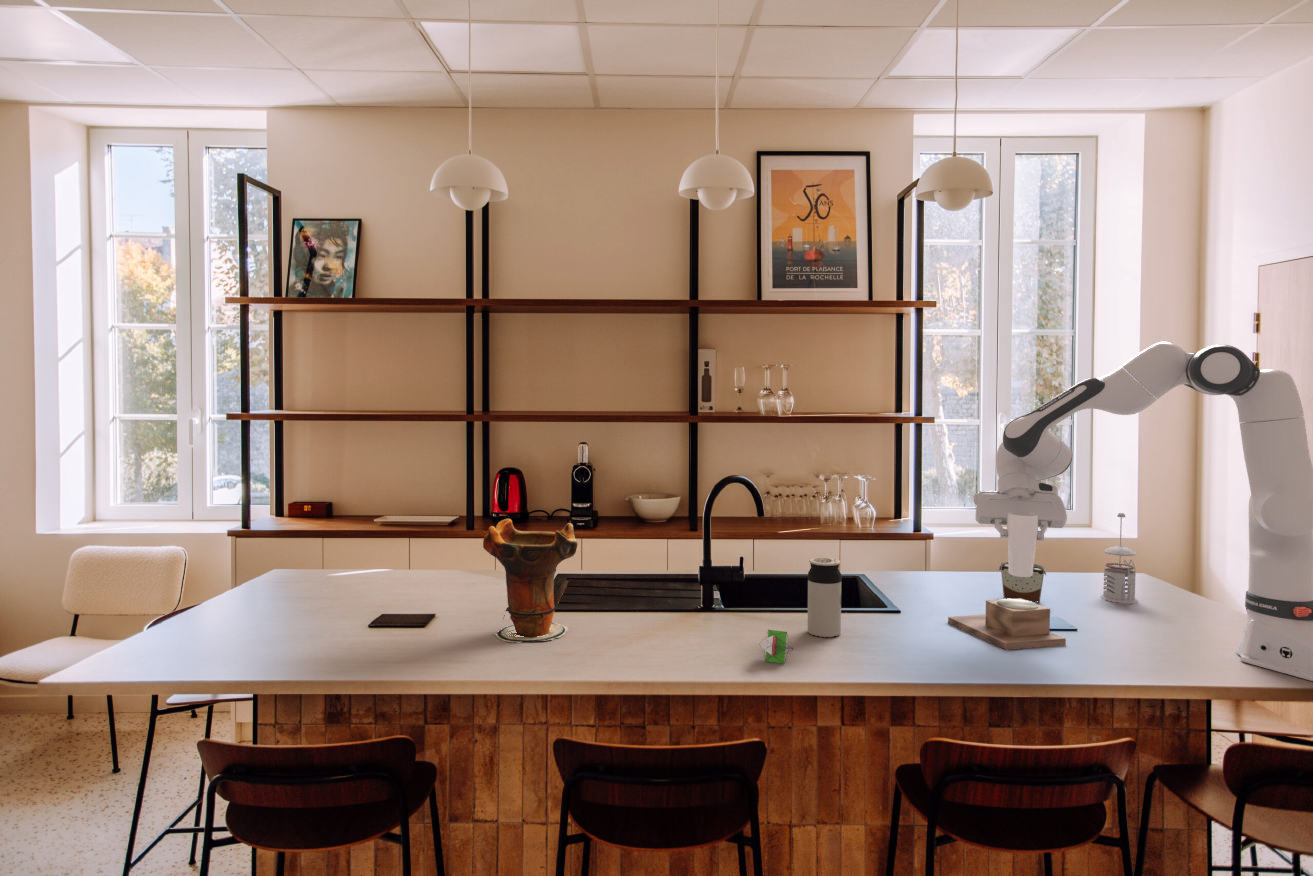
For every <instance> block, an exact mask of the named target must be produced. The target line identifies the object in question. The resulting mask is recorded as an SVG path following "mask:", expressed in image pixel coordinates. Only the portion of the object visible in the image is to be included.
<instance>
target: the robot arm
mask: <svg viewBox="0 0 1313 876" xmlns="http://www.w3.org/2000/svg"><path fill="white" fill-rule="evenodd" d="M1181 385H1182V386H1183V385H1184V386H1186V387H1188V388H1190V389H1192V390H1194V391H1197V392H1199V393H1202V394H1205V395H1209V396H1222V395H1226V396H1229V397H1230V398H1231V399H1232V400H1233V401H1234V403H1235V406H1236V409H1237V415H1238V421H1239V422H1238V423H1239V430H1240V436H1241V442H1242V443H1241V444H1242V450H1243V458H1244V462H1245V468H1246V473H1247V478H1248V483H1249V490H1250V496H1249V501H1248V548H1249V549H1248V550H1249V553H1248V555H1249V557H1248V560H1249V565H1248V589H1247V591H1245V598H1244V599H1245V600H1244V602H1245V603H1244V606H1245V609H1246V617H1245V621H1244V622H1245V623H1244V627H1243V628H1244V629H1243V633H1242V636H1241V640H1240V642H1239V645H1238V648H1237V650H1236V653H1237V654H1238V655H1239V656H1240V661H1241V662H1243V663H1245V664H1250V665H1254V666H1257V667H1261V668H1264V669H1268V670H1271V671H1274V672H1278V673H1282V674H1286V675H1290V676H1292V677H1297V678H1301V679H1303V680H1308V681H1311V682H1313V463H1312V460H1311V455H1310V450H1309V442H1308V434H1307V430H1306V429H1307V428H1306V421H1305V416H1304V410H1303V409H1304V408H1303V405H1302V401H1301V397H1300V394H1299V391H1298V388H1297V386H1296V383H1295V380H1294V379H1293V377H1292V376H1291V375H1290V374H1289V373H1287V372H1286V371H1283V370H1280V369H1273V368H1268V369H1267V368H1265V369H1260V368H1259V366H1257V364H1255V363H1254V362H1253V361H1252V360H1251V359H1250V358H1249V357H1248V356H1247V355H1246V353H1244V351H1242V350H1240V349H1239V348H1238V347H1235V346H1233V345H1230V344H1225V343H1224V344H1218V343H1217V344H1213V345H1209V346H1206V347H1204V348H1202V349H1200V350H1198V351H1196V352H1188V351H1186V350H1184V349H1183V348H1182V347H1181V346H1178V345H1177V344H1175V343H1173V342H1169V341H1159V342H1158V341H1157V342H1156V343H1153V344H1152V345H1150V346H1148V347H1147V348H1145V349H1143V350H1142V351H1140V352H1138V353H1136V354H1135V355H1134V356H1132V357H1131V358H1129V359H1128V360H1127V361H1125V362H1124V363H1122V365H1120V366H1118V367H1117V368H1116V369H1115V370H1113V371H1111V372H1109V373H1107V374H1104V375H1102V376H1100V377H1090V378H1086V379H1084V380H1081V381H1080V382H1077V383H1076V384H1074V385H1073V386H1071V387H1069V388H1067V389H1066V390H1064V391H1062V392H1061V393H1059V394H1058V395H1055V397H1053V398H1051V399H1050V400H1048V401H1047V402H1045V403H1043V404H1041V405H1040V406H1039V407H1037V408H1035V409H1033V410H1032V411H1029V412H1028V413H1026V414H1025V413H1024V414H1023V415H1021V416H1018V417H1016V418H1014V419H1013V420H1011V421H1010V422H1009V423H1008V424H1007V425H1006V426H1005V428H1004V430H1003V434H1002V442H1001V443H1000V444H999V446H998V450H997V453H996V456H995V457H996V459H995V460H996V474H997V476H998V480H997V488H998V491H993V490H990V491H989V490H988V491H986V490H980V491H979V492H976V493H974V495H973V502H974V504H975V505H976V506H975V507H976V508H975V521H976V522H977V523H978V524H981V525H983V524H984V525H993V526H994V528H995V529H996V531H997V532H998V533H999V538H1000V539H1007V536H1008V533H1007V528H1003V526H1007V516H1008V513H1009V512H1013V513H1012V514H1013V515H1021V516H1032V515H1031V514H1029V513H1034V514H1037V515H1038V528H1039V529H1040V530H1038V534H1037V541H1044V539H1045V533H1046V532H1047V530H1048V528H1051V529H1052V528H1053V529H1063V527H1064V526H1065V525H1066V523H1067V521H1068V520H1067V519H1068V518H1067V517H1068V515H1067V511H1066V507H1065V506H1066V505H1065V504H1064V501H1063V499H1062V498H1061V497H1060V496H1059V493H1058V492H1059V491H1058V486H1057V485H1053V484H1049V483H1045V482H1043V481H1044V480H1048V479H1050V478H1054V477H1057V476H1059V475H1062V474H1064V473H1065V472H1066V471H1067V470H1068V468H1069V467H1070V466H1071V463H1072V462H1073V450H1072V449H1071V447H1070V446H1068V445H1067V444H1066V442H1064V441H1063V440H1062V439H1061V438H1060V437H1058V436H1057V435H1056V434H1054V433H1053V432H1051V430H1050V429H1051V428H1053V427H1054V426H1056V425H1057V424H1059V423H1061V422H1062V421H1064V420H1065V419H1068V418H1069V417H1070V416H1073V415H1074V414H1076V413H1077V412H1080V411H1083V410H1087V409H1088V410H1089V409H1092V410H1093V409H1094V410H1100V411H1103V412H1106V413H1111V414H1114V415H1120V416H1121V415H1122V416H1131V415H1135V414H1138V413H1140V412H1142V411H1145V409H1147V408H1149V407H1150V406H1151V405H1152V404H1153V403H1155V402H1157V400H1159V399H1160V398H1161V397H1163V396H1164V395H1165V394H1166V393H1168V392H1169V391H1171V390H1172V389H1174V388H1176V387H1179V386H1181Z"/></svg>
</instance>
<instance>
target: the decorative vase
mask: <svg viewBox="0 0 1313 876" xmlns="http://www.w3.org/2000/svg"><path fill="white" fill-rule="evenodd" d="M578 543H579V542H578V540H577V539H576V536H575V531H574V525H573V523H571V522H567V523H566V524H565V526H564V527H563V528H562V529H561V530H560V531H559V530H555V531H541V530H540V531H522V530H518V529H516V528H515V527H514V524H513V520H512V519H511V518H505V519H502V520H500V521H498V523H497V524H496V526H493V525H491V526H489V527H488V533H487V534H486V535H484V536H483V540H482V546H483V547H482V548H483V549H484V550H485V551H486V552H487V553H488V554H490V556H492V557H494V558H495V559H497V560H498V562H499V563H500V564H501V565H502V566H503V568H504V571H505V584H506V594H507V596H506V597H507V606H508V607H507V608H506V609H505V610H504V612H508V613H509V615H510V616H509V618H510V620H511V621H512V624H513V625H511V624H508V625H507V626H508V627H506V626H503V627H504V628H503V627H502V628H503V629H502V628H501V629H502V630H500V629H498V631H499V632H496V631H495V633H493V635H495V637H496V638H497V639H499V640H500V641H503V642H508V643H518V644H521V643H523V642H528V641H529V642H536V641H538V642H539V641H540V642H541V641H543V642H544V641H545V642H546V641H553V640H554V639H557V638H558V639H559V638H562V637H563V636H565V635H566V633H568V632H569V630H570V629H569V628H568V626H567V625H562V624H559V623H558V622H554V621H553V618H554V614H555V611H556V605H555V599H554V595H555V594H554V586H555V575H556V572H557V567H558V566H559V564H560V563H561V562H564V561H565V560H567V559H570V558H572V557H574V555H576V554H577V553H576V552H577V548H578ZM505 616H506V615H505V614H503V618H502V622H503V621H504V618H505ZM514 627H515V630H516V632H517V633H512V632H511V631H514V630H511V631H510V630H509V629H510V628H514ZM551 629H552V631H550V630H551ZM508 630H509V631H508ZM507 632H508V633H509V632H511V634H510V633H509V634H510V635H511V636H510V635H509V634H508V633H507ZM506 633H507V634H508V635H509V636H508V635H507V634H506ZM496 634H497V635H496ZM515 634H516V635H520V636H524V637H515V636H516V635H515ZM546 634H548V635H549V636H547V635H546ZM512 635H513V636H512ZM514 635H515V636H514ZM543 635H546V636H545V637H537V636H543Z"/></svg>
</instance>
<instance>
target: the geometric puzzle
mask: <svg viewBox="0 0 1313 876" xmlns="http://www.w3.org/2000/svg"><path fill="white" fill-rule="evenodd" d="M766 634H767V635H766V636H765V637H763V638H762V639H761V641H760V642H759V643H758V645H759V646H760V648H761V650H763V654H762V655H763V657H765V658H764V662H767V663H768V662H770V663H777V664H783V665H784V664H786V661H787V658H788V653H790V652H791V653H790V654H789V655H791V654H792V651H794V647H793V645H792V641H789V640H788V641H787V638H789V634H788V631H782V630H774V629H767V632H766ZM787 642H788V643H787ZM789 642H790V643H789ZM788 644H791V646H790V645H789V646H787V645H788ZM787 649H788V651H787V652H786V650H787ZM790 649H791V650H790ZM765 652H766V653H765Z"/></svg>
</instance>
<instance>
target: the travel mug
mask: <svg viewBox="0 0 1313 876" xmlns="http://www.w3.org/2000/svg"><path fill="white" fill-rule="evenodd" d="M808 562H809V563H810V569H809V570H808V572H807V633H809V634H810V635H812V636H814V635H815V636H814V637H817V636H819V637H818V638H826V637H829V638H835V637H834V636H836V637H837V636H840V635H841V634H842V631H841V630H842V628H841V627H842V573H841V571H840V569H839V568H840V564H841V561H840V560H839V559H837V558H832V557H813V558H810V559H809V560H808Z"/></svg>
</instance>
